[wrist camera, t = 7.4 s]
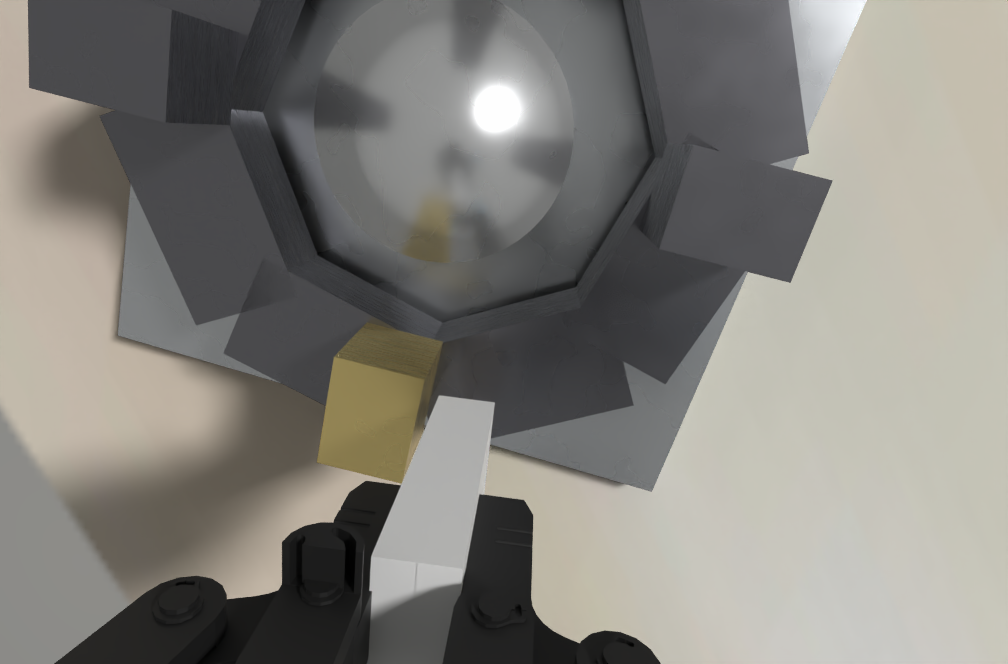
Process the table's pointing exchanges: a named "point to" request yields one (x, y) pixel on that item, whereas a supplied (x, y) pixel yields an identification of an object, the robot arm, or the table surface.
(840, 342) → the table surface
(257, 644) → the robot arm
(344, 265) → the base plate
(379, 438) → the octagonal block ring
